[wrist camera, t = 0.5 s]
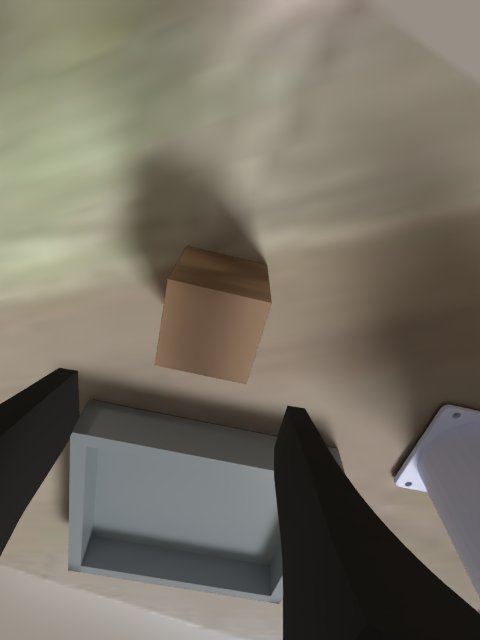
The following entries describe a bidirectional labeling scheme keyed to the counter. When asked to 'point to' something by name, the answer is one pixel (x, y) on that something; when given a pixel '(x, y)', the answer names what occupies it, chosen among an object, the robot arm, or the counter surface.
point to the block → (213, 315)
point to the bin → (174, 503)
